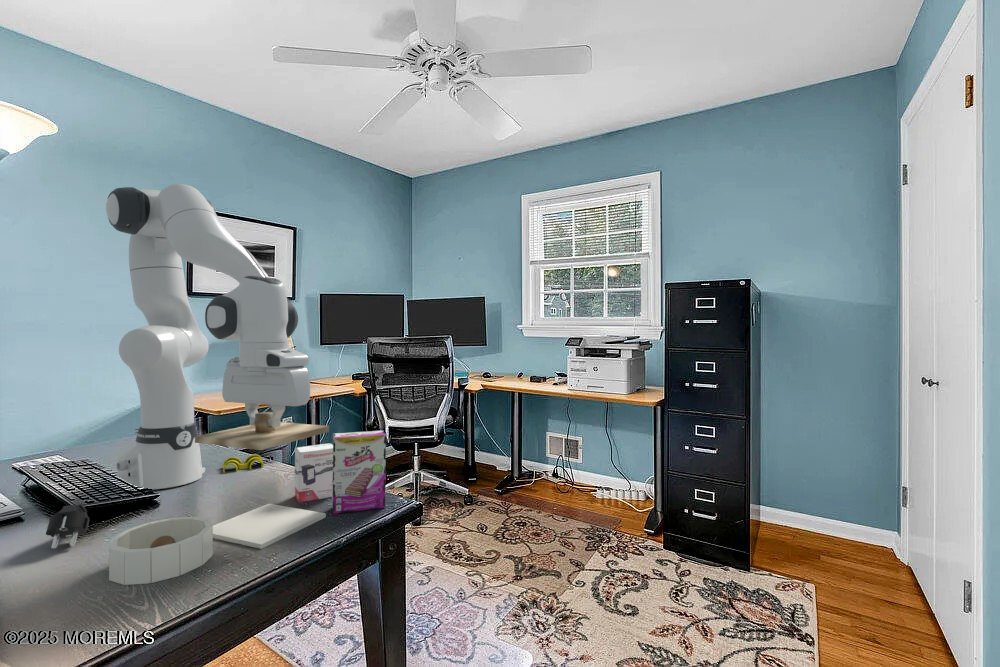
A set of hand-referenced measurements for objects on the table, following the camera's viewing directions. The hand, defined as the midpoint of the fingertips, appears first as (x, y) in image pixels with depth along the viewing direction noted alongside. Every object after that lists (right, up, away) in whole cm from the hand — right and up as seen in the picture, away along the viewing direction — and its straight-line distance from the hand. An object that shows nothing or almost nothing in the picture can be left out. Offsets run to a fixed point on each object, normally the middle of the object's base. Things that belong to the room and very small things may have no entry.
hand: (265, 426), depth 97 cm
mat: (0, -20, 0) cm, 20 cm away
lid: (0, -2, 0) cm, 2 cm away
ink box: (+4, -20, +17) cm, 27 cm away
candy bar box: (+16, -20, +10) cm, 27 cm away
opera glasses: (-23, -20, +36) cm, 47 cm away
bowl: (-10, -20, -15) cm, 27 cm away
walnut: (-10, -17, -15) cm, 25 cm away
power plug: (-34, -22, -2) cm, 41 cm away
